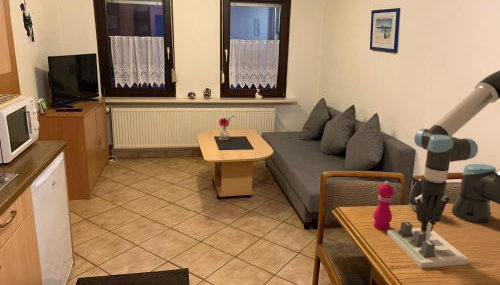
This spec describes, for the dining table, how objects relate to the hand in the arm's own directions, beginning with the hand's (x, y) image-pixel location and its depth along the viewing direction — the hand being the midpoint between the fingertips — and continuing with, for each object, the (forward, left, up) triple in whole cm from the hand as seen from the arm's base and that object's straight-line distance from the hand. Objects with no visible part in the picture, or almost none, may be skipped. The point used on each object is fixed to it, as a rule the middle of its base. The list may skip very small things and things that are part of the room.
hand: (425, 238), depth 146 cm
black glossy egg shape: (-18, -31, -4) cm, 36 cm away
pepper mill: (+7, -18, -4) cm, 20 cm away
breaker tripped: (+2, 0, -2) cm, 3 cm away
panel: (-1, 0, -4) cm, 4 cm away
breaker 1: (+3, -7, -2) cm, 8 cm away
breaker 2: (+3, +7, -2) cm, 8 cm away
